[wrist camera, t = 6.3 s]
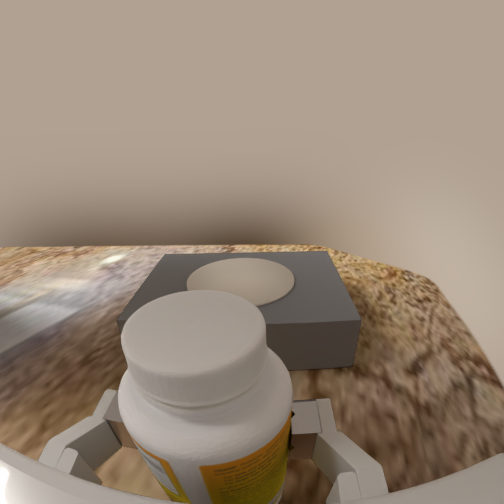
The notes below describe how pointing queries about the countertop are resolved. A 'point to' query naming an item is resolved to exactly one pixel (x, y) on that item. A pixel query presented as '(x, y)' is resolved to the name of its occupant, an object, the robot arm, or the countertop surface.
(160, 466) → the supplement bottle
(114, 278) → the countertop surface
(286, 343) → the block
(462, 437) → the countertop surface
